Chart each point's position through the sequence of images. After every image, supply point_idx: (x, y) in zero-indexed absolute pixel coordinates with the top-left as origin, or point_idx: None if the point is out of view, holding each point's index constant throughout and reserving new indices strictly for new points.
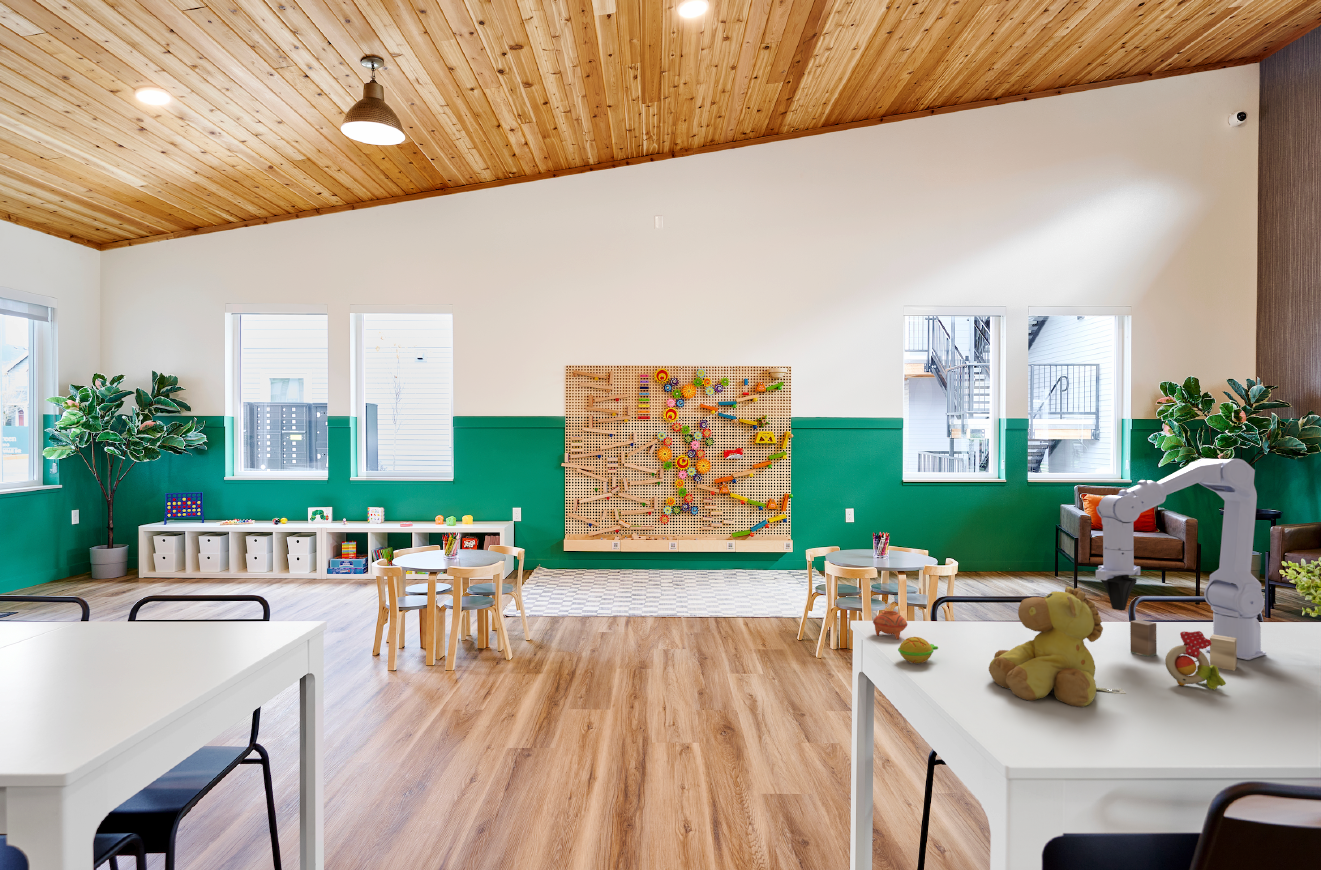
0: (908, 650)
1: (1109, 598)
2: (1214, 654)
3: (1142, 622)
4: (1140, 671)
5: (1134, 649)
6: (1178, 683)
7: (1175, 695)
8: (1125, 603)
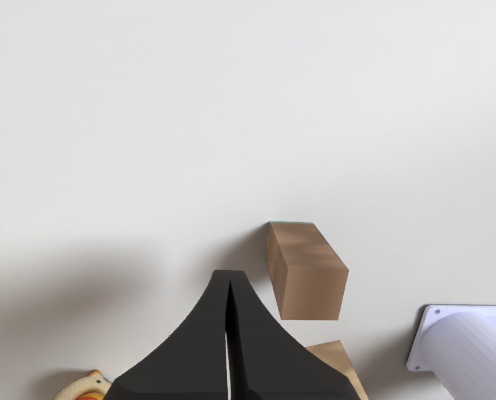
0: None
1: (203, 294)
2: None
3: (307, 295)
4: (113, 301)
5: (270, 234)
6: (89, 374)
7: (17, 391)
8: (227, 342)
